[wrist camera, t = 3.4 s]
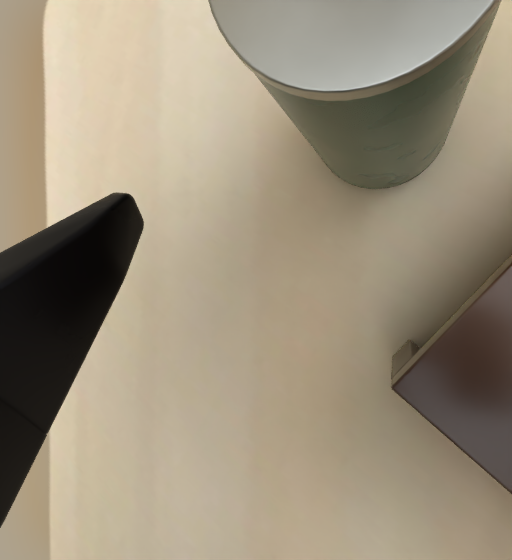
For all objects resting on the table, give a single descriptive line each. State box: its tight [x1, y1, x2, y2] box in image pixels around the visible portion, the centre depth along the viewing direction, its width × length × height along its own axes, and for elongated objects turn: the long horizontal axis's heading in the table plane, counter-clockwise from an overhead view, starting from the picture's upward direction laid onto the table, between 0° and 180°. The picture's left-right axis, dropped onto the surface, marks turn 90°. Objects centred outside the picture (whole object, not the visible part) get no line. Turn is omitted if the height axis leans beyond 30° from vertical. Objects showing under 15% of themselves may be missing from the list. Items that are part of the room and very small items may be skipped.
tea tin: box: [208, 0, 501, 189], centre depth 14 cm, size 6×6×12 cm
